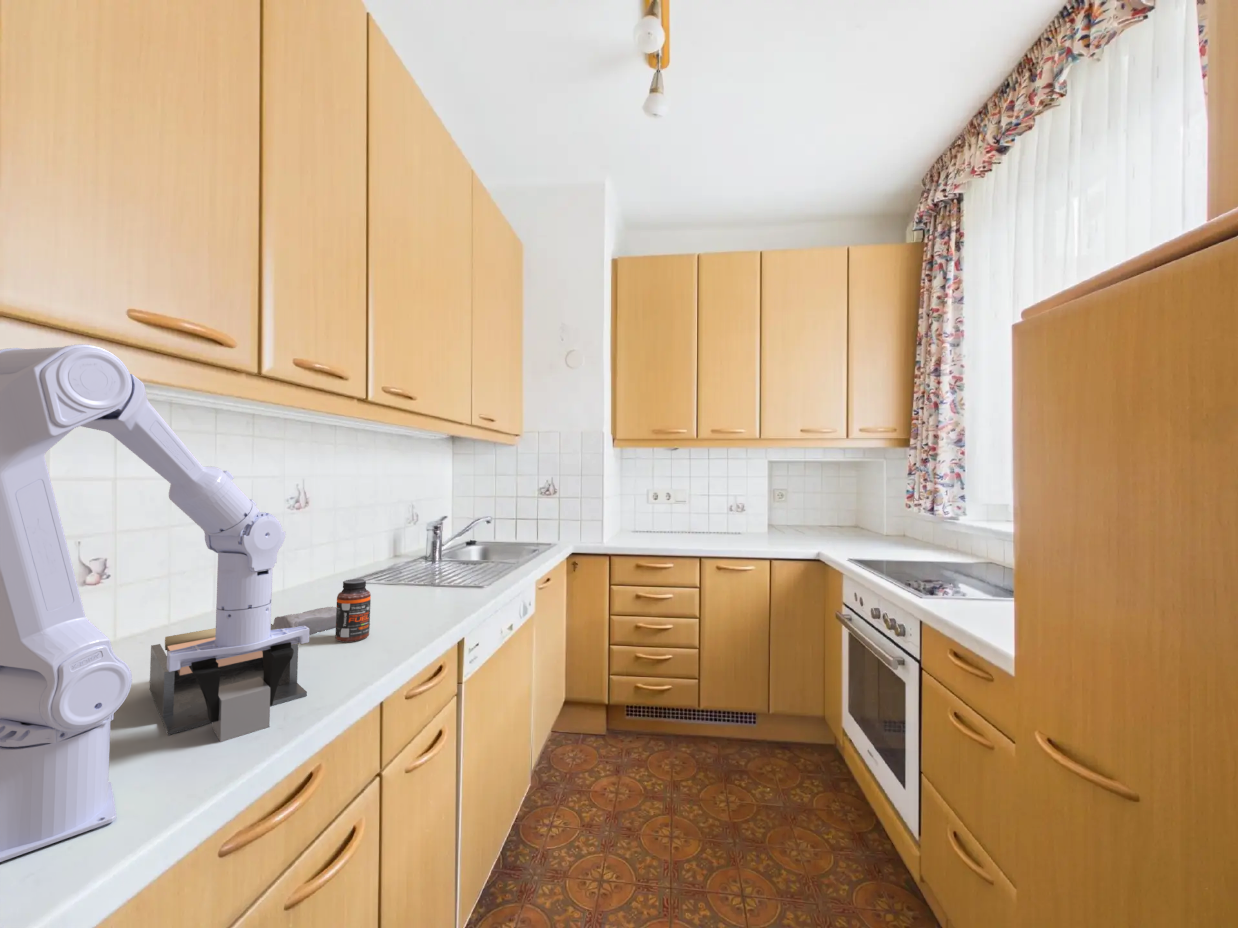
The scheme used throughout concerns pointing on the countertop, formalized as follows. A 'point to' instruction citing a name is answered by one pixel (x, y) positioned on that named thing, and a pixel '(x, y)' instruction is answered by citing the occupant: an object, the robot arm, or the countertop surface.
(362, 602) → the supplement bottle
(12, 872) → the countertop surface
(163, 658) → the trapdoor frame
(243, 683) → the grey cube
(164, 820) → the countertop surface
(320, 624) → the stone block
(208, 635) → the trapdoor
